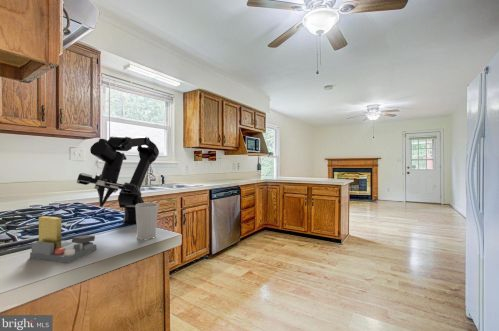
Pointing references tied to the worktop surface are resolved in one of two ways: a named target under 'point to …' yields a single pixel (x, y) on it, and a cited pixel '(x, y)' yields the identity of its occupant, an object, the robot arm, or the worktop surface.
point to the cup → (146, 220)
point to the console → (61, 251)
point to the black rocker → (83, 239)
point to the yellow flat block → (50, 230)
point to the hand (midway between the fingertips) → (100, 206)
